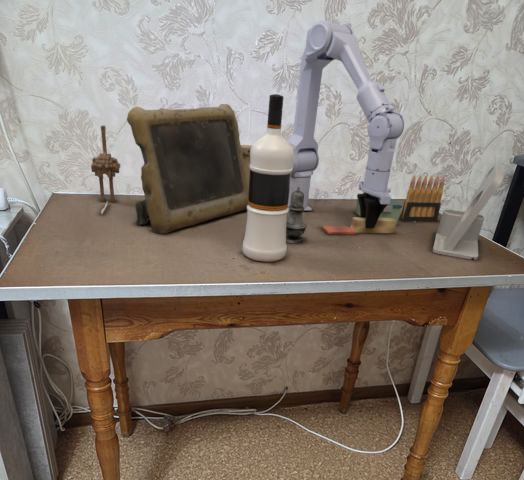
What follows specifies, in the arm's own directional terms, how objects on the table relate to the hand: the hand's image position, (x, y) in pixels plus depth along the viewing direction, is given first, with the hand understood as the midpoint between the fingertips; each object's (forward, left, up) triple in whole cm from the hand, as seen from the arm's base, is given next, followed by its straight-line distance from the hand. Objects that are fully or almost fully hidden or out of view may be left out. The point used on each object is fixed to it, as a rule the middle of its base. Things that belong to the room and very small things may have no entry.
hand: (367, 226), depth 121 cm
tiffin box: (+7, +12, -1) cm, 14 cm away
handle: (-27, +25, -2) cm, 36 cm away
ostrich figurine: (-64, +20, -2) cm, 67 cm away
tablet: (-42, +11, -2) cm, 43 cm away
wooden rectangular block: (-2, 0, -1) cm, 2 cm away
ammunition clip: (+20, +11, -2) cm, 23 cm away
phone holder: (+19, -10, -2) cm, 22 cm away
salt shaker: (-21, -6, -2) cm, 22 cm away
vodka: (-30, -16, -2) cm, 34 cm away
